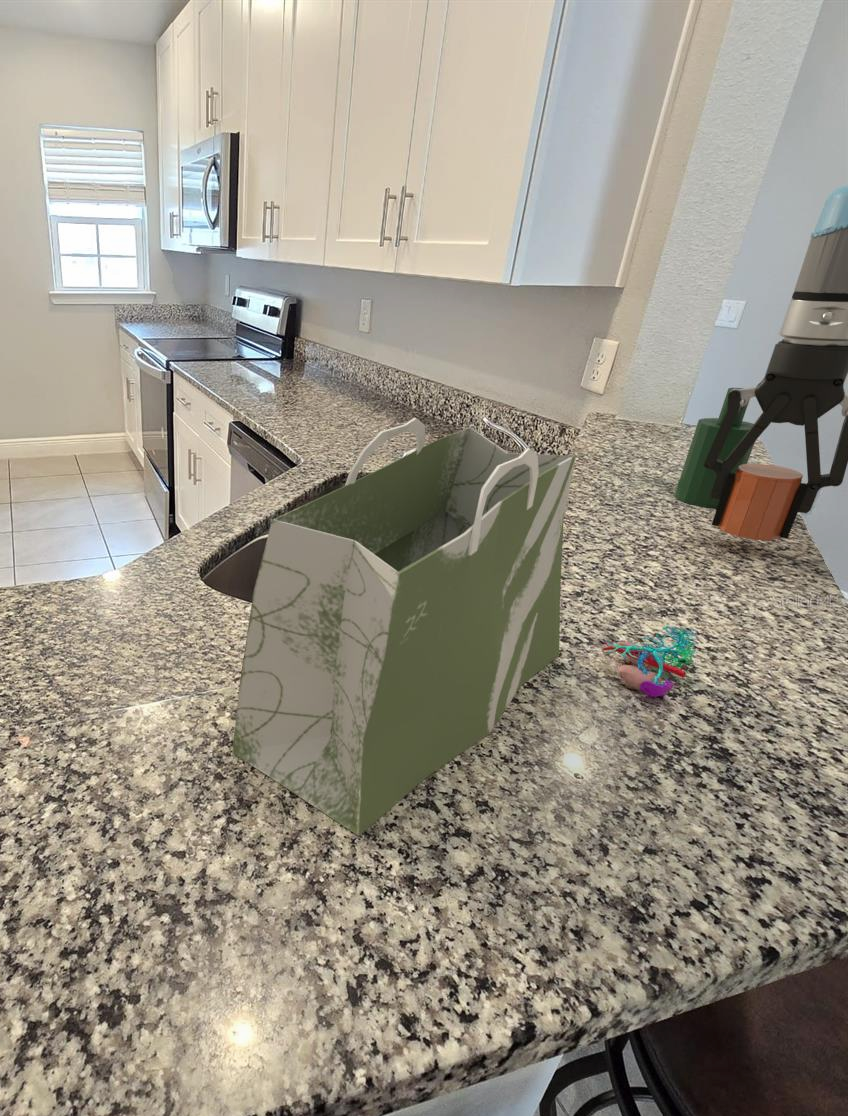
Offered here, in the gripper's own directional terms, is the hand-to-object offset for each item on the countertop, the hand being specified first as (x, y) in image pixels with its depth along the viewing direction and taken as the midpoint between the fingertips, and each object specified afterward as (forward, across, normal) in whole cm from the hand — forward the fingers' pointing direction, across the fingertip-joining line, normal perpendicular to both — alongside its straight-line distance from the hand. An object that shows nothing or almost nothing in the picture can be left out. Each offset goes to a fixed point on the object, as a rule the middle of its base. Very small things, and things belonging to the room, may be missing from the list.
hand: (749, 528), depth 87 cm
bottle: (+3, -6, +20) cm, 21 cm away
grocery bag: (+3, -20, -58) cm, 62 cm away
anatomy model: (+3, -5, -42) cm, 42 cm away
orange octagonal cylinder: (0, 0, 0) cm, 0 cm away
